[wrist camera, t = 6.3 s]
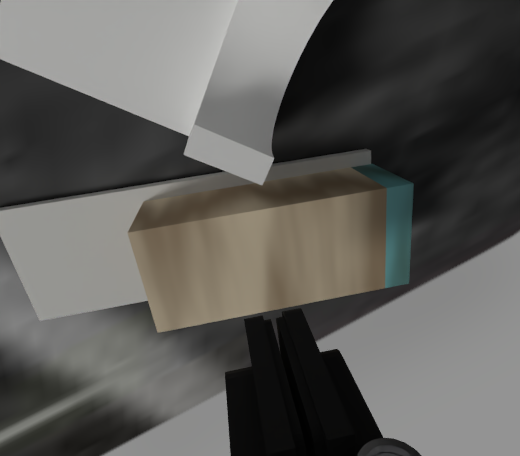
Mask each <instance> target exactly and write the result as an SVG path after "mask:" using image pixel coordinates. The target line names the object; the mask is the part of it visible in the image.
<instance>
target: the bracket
mask: <svg viewBox="0 0 520 456" xmlns="http://www.w3.org/2000/svg"><path fill="white" fill-rule="evenodd" d="M332 1H333V0H1V1H0V59H1V60H4V61H6V62H9V63H11V64H14V65H16V66H18V67H21V68H23V69H26V70H28V71H31V72H33V73H36V74H38V75H40V76H43V77H45V78H48V79H50V80H53V81H55V82H58V83H60V84H62V85H65V86H67V87H70V88H72V89H75V90H77V91H80V92H82V93H84V94H87V95H89V96H92V97H94V98H97V99H99V100H102V101H104V102H106V103H109V104H111V105H114V106H116V107H119V108H121V109H124V110H126V111H128V112H131V113H133V114H136V115H138V116H141V117H143V118H146V119H148V120H150V121H153V122H155V123H158V124H160V125H163V126H165V127H168V128H170V129H172V130H175V131H177V132H180V133H182V134H185V135H187V136H189V138H188V142H187V145H186V148H185V152H184V155H186V156H188V157H191V158H193V159H196V160H198V161H201V162H203V163H206V164H209V165H211V166H214V167H216V168H219V169H221V170H224V171H226V172H229V173H231V174H234V175H237V176H239V177H242V178H244V179H247V180H249V181H252V182H254V183H257V184H259V185H263V183H264V181H265V178H266V176H267V174H268V172H269V169H270V167H271V165H272V163H273V160H274V157H273V154H272V135H273V130H274V125H275V121H276V117H277V114H278V111H279V107H280V104H281V101H282V99H283V96H284V93H285V90H286V88H287V85H288V83H289V80H290V78H291V76H292V73H293V71H294V69H295V67H296V64H297V62H298V60H299V58H300V56H301V54H302V52H303V50H304V48H305V46H306V44H307V42H308V40H309V38H310V37H311V35H312V33H313V31H314V29H315V28H316V26H317V24H318V23H319V21H320V19H321V18H322V16H323V15H324V13H325V12H326V10H327V9H328V7H329V6H330V4H331V3H332Z"/></svg>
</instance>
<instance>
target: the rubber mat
mask: <svg viewBox="0 0 520 456" xmlns="http://www.w3.org/2000/svg"><path fill="white" fill-rule="evenodd" d="M368 164H371V151H370V150H368V149H362V150H356V151H349V152H343V153H337V154H331V155H325V156H318V157H312V158H306V159H300V160H294V161H287V162H281V163H275V164H272V165H271V167H270V169H269V172H268V174H267V176H266V178H265V181H271V180H277V179H283V178H289V177H295V176H301V175H307V174H313V173H319V172H326V171H332V170H338V169H344V168H350V167H356V166H362V165H368ZM265 181H264V182H265ZM253 183H254V182H252V181H249V180H247V179H244V178H242V177H239V176H237V175H234V174H231V173H229V172H226V171H225V172H219V173H213V174H207V175H201V176H194V177H188V178H182V179H176V180H170V181H163V182H157V183H151V184H145V185H139V186H132V187H126V188H120V189H114V190H108V191H101V192H95V193H89V194H83V195H77V196H70V197H64V198H58V199H52V200H46V201H39V202H33V203H27V204H21V205H15V206H8V207H2V208H0V236H1V239H2V241H3V243H4V245H5V247H6V249H7V252H8V254H9V256H10V258H11V260H12V262H13V264H14V267H15V269H16V271H17V273H18V275H19V277H20V279H21V282H22V284H23V286H24V288H25V290H26V292H27V295H28V297H29V299H30V301H31V303H32V305H33V307H34V310H35V312H36V314H37V316H38V318H39V320H40V321H42V320H48V319H53V318H58V317H64V316H69V315H74V314H79V313H85V312H90V311H95V310H101V309H106V308H111V307H117V306H122V305H127V304H132V303H138V302H143V301H148V299H147V296H146V292H145V289H144V286H143V282H142V279H141V276H140V273H139V269H138V266H137V263H136V259H135V256H134V253H133V250H132V246H131V243H130V240H129V237H128V233H127V232H128V231H129V229H130V227H131V225H132V223H133V221H134V219H135V217H136V215H137V213H138V211H139V209H140V207H141V205H142V203H143V202H144V201H150V200H156V199H162V198H168V197H174V196H180V195H186V194H192V193H198V192H205V191H211V190H217V189H223V188H229V187H235V186H241V185H247V184H253Z"/></svg>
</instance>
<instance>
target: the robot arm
mask: <svg viewBox="0 0 520 456" xmlns="http://www.w3.org/2000/svg"><path fill="white" fill-rule="evenodd" d="M244 321H245V327H246V333H247V339H248V345H249V351H250V357H251V363H252V367H248V368H243V369H238V370H233V371H228V372H225V380H226V394H227V407H228V422H229V437H230V451H231V456H421V455H420V454H419V453H418V452H417V451H416V450H415V449H414V448H412V447H411V446H409V445H407V444H406V443H404V442H401V441H399V440H396V439H391V438H383V436H382V434H381V432H380V430H379V428H378V426H377V424H376V422H375V420H374V418H373V416H372V414H371V412H370V410H369V408H368V406H367V404H366V402H365V400H364V399H363V396H362V394H361V392H360V390H359V388H358V386H357V384H356V383H355V380H354V378H353V377H352V374H351V372H350V370H349V369H348V367H347V365H346V363H345V361H344V359H343V357H342V355H341V353H340V351H339V350H337V349H334V350H330V351H325V352H320V351H319V349H318V347H317V344H316V342H315V339H314V337H313V335H312V332H311V330H310V328H309V325H308V323H307V321H306V318H305V316H304V314H303V311H302V309H301V308H299V309H293V310H288V311H283V312H282V317H279V318H276V323H277V330H278V338H279V345H280V351H279V347H278V344H277V340H276V336H275V333H274V329H273V326H272V322H271V319H269V320H264V319H263V316H258V317H253V318H247V319H244ZM280 353H281V354H280Z"/></svg>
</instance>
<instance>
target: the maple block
mask: <svg viewBox="0 0 520 456" xmlns="http://www.w3.org/2000/svg"><path fill="white" fill-rule="evenodd" d="M413 187H414V183H412V182H409V181H407V180H405V179H403V178H401V177H399V176H397V175H395V174H393V173H391V172H389V171H387V170H384V169H382V168H380V167H378V166H376V165H374V164H368V165H362V166H356V167H350V168H344V169H338V170H332V171H326V172H319V173H313V174H307V175H301V176H295V177H289V178H283V179H277V180H271V181H265V182H264V183H263V185H259V184H257V183H253V184H247V185H241V186H235V187H229V188H223V189H217V190H211V191H205V192H198V193H192V194H186V195H180V196H174V197H168V198H162V199H156V200H150V201H144V202H143V203H142V205H141V207H140V209H139V211H138V213H137V215H136V217H135V219H134V221H133V223H132V225H131V227H130V229H129V231H128V232H127V233H128V237H129V240H130V243H131V246H132V250H133V253H134V256H135V259H136V263H137V266H138V269H139V273H140V276H141V279H142V282H143V286H144V289H145V292H146V296H147V299H148V302H149V305H150V309H151V312H152V315H153V318H154V322H155V325H156V328H157V332H158V333H159V332H164V331H169V330H174V329H180V328H185V327H190V326H195V325H200V324H205V323H210V322H215V321H220V320H225V319H230V318H235V317H240V316H246V315H251V314H256V313H261V312H266V311H271V310H276V309H281V308H286V307H291V306H296V305H301V304H306V303H312V302H317V301H322V300H327V299H332V298H337V297H342V296H347V295H352V294H357V293H362V292H367V291H372V290H378V289H383V288H388V287H393V286H398V285H403V284H408V283H409V270H410V249H411V228H412V208H413Z"/></svg>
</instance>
